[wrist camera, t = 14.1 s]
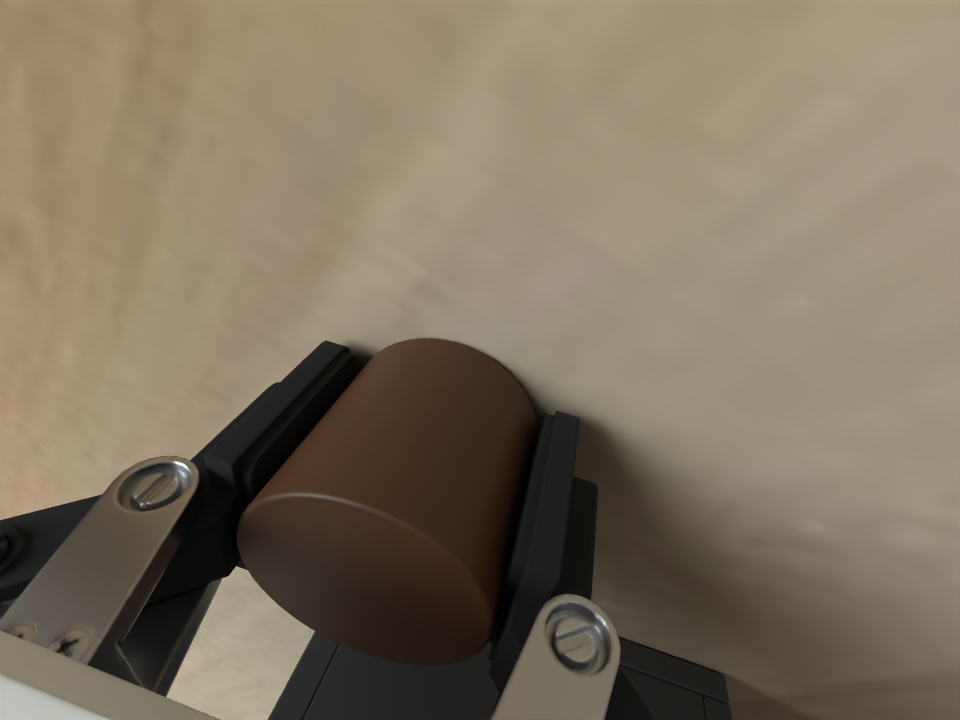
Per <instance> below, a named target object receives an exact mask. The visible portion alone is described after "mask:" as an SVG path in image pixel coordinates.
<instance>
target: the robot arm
mask: <svg viewBox="0 0 960 720" xmlns="http://www.w3.org/2000/svg"><path fill="white" fill-rule="evenodd" d="M355 370H356V358H355V356H354V355H351V354H350V350H349V348H348V347H346V346H342V345H339V344H336V343H332V342H329V341H324V342H322V343H321V344H320V345H319V346H318V347H317V348H316V349H315V350H314V351H313V352H312V353H311V354H310V355H308V356H307V357H306V358H305V359H304V360H303V361H302V362H301V363H300V364H299V365H298V366H297V367H296V368H295V369H294V370H293V371H292V372H291V373H290V374H288V375H287V376H286V377H285V378H284V379H283V380H282V381H281V382H278V383H274V384H273V385H271V386H270V387H268V388H267V389H266V390H265V391H264V392H263V393H262V394H261V395H260V396H259V397H258V398H257V399H256V400H255V401H253V402H252V403H251V404H250V405H249V406H248V407H247V408H246V409H245V410H244V411H243V412H242V413H241V414H240V415H238V416H237V417H236V418H235V419H234V420H233V421H232V422H231V423H230V424H229V425H228V426H227V427H226V428H225V429H223V430H222V431H221V432H220V433H219V434H218V435H217V436H216V437H215V438H214V439H213V440H212V441H211V442H210V443H208V444H207V445H206V446H205V447H204V448H203V449H202V450H201V451H200V452H199V453H198V454H197V455H196V456H195V457H193V458H192V459H191V460H190V461H189V460H187V459H185V458H181V457H177V456H161V457H156V458H151V459H147V460H145V461H142V462H140V463H137V464H135V465H133V466H132V467H130V468H128V469H127V470H125V471H123V472H122V473H121V474H120V475H119V476H118V477H117V478H116V479H115V480H114V481H113V482H112V483H111V485H110V486H109V487H108V488H107V490H106V491H105V492H104V493H103V494H102V495H98V496H94V497H90V498H87V499H83V500H79V501H75V502H71V503H67V504H63V505H59V506H55V507H51V508H47V509H43V510H39V511H35V512H31V513H27V514H23V515H19V516H15V517H12V518H8V519H4V520H0V720H220V719H217V718H215V717H212V716H210V715H208V714H205V713H203V712H200V711H198V710H195V709H193V708H191V707H188V706H186V705H183V704H181V703H179V702H176V701H174V700H171V699H169V698H166V696H167V694H168V692H169V689H170V687H171V685H172V683H173V681H174V679H175V677H176V675H177V673H178V671H179V668H180V666H181V664H182V662H183V660H184V658H185V656H186V654H187V652H188V650H189V647H190V645H191V643H192V641H193V639H194V637H195V635H196V633H197V631H198V629H199V626H200V624H201V622H202V620H203V618H204V616H205V614H206V612H207V610H208V607H209V605H210V603H211V601H212V599H213V597H214V595H215V593H216V591H217V589H218V586H219V584H220V582H221V580H222V578H224V577H227V576H229V575H230V573H231V572H232V571H233V569H234V568H235V567H236V566H238V567H240V568H243V569H246V570H248V569H247V568H246V566H245V564H244V562H243V560H242V558H241V556H240V553H239V549H238V546H237V538H236V535H237V527H238V523H239V521H240V518H241V515H242V514H243V512H244V511H245V510H246V508H247V507H248V506H249V504H250V503H251V502H252V501H253V500H254V498H255V497H256V496H257V495H258V494H259V492H260V491H261V490H262V489H263V488H264V486H265V485H266V484H267V483H268V482H269V480H270V479H271V478H272V477H273V476H274V474H275V473H276V472H277V471H278V470H279V468H280V467H281V466H282V465H283V464H284V463H285V461H286V460H287V459H288V458H289V457H290V455H291V454H292V453H293V452H294V451H295V449H296V448H297V447H298V446H299V445H300V443H301V442H302V441H303V440H304V439H305V437H306V436H307V435H308V434H309V433H310V431H311V430H312V429H313V428H314V427H315V425H316V424H317V423H318V422H319V421H320V419H321V418H322V417H323V416H324V415H325V413H326V412H327V411H328V410H329V409H330V407H331V406H332V405H333V404H334V403H335V401H336V400H337V399H338V398H339V397H340V395H341V394H342V393H343V392H344V391H345V389H346V388H347V387H348V386H349V385H350V383H351V382H352V381H353V380H354V379H355ZM579 420H580V419H579V417H575V416H572V415H569V414H565V413H562V412H559V411H556V412H555V415H554V416H551V415H547V414H545V417H544V420H543V423H542V425H541V428H540V431H539V434H538V437H537V440H536V443H535V447H534V451H533V456H532V460H531V464H530V469H529V473H528V478H527V482H526V486H525V491H524V495H523V499H522V504H521V508H520V512H519V517H518V521H517V525H516V530H515V534H514V539H513V543H512V547H511V552H510V556H509V560H508V565H507V569H506V573H505V578H504V582H503V586H502V591H501V599H500V603H499V608H498V612H497V617H496V621H495V625H494V629H493V633H492V636H491V638H490V640H489V641H488V642H489V643H492V644H491V649H490V653H489V658H488V660H491V661H492V662H491V666H490V671H489V674H490V676H491V678H492V680H493V682H494V684H495V686H496V688H497V690H498V692H499V694H498V696H497V698H496V700H495V702H494V705H493V707H492V709H491V711H490V713H489V716H488V718H487V720H655V718H654V717H653V715H652V714H651V712H650V711H649V710H648V708H647V707H646V705H645V704H644V702H643V701H642V699H641V698H640V696H639V695H638V694H637V692H636V691H635V689H634V688H633V686H632V685H631V683H630V682H629V680H628V679H627V677H626V676H625V675H624V673H623V672H622V670H621V669H620V667H619V661H620V651H621V648H620V643H619V638H618V634H617V632H616V630H615V628H614V625H613V623H612V621H611V620H610V619H609V617H608V616H607V615H606V614H605V612H604V611H603V610H602V609H601V608H600V607H598V606H597V605H596V604H595V603H593V602H592V601H591V595H592V579H593V563H594V546H595V530H596V514H597V497H598V486H597V484H596V483H593V482H590V481H587V480H584V479H581V478H578V477H574V476H573V470H574V462H575V454H576V446H577V437H578V429H579Z"/></svg>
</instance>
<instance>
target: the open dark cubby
mask: <svg viewBox="0 0 960 720" xmlns="http://www.w3.org/2000/svg"><path fill="white" fill-rule="evenodd" d="M619 643H620V648H621V651H620V661H619V667H620V669H621V670H622V672H623V673H624V675H625V676H626V677H627V679H628V680H629V682H630V683H631V685H632V686H633V688H634V689H635V691H636V692H637V694H638V695H639V696H640V698H641V699H642V701H643V702H644V704H645V705H646V707H647V708H648V710H649V711H650V712H651V714H652V715H653V717H654V718H655V720H732V717H731V711H730V706H729V704H728V702H729V700H728V694H727V688H726V682H725V677H724V675H722V674H719V673H716V672H714V671H711V670H708V669H705V668H702V667H699V666H697V665H694V664H691V663H688V662H685V661H682V660H680V659H677V658H674V657H671V656H668V655H665V654H663V653H660V652H657V651H654V650H651V649H648V648H646V647H643V646H640V645H637V644H634V643H632V642H629V641H626V640H623V639H620V638H619ZM491 644H492V643H489V642H488V643H487V644H486V646H485V647H484V648H483V649H482V650H481V651H480V652H479V653H478V654H476V655H475V656H473V657H471V658H469V659H467V660H464V661H462V662H458V663H454V664H450V665H441V666H421V665H410V664H403V663H397V662H393V661H388V660H384V659H380V658H377V657H373V656H370V655H367V654H364V653H361V652H358V651H356V650H353V649H351V648H348V647H346V646H344V645H341V644H339V643H337V642H335V641H333V640H331V639H329V638H327V637H325V636H323V635H322V634H320V633H318V632H316V631H315V632H314V634H313V636H312V638H311V640H310V642H309V644H308V645H307V647H306V649H305V651H304V653H303V655H302V657H301V658H300V660H299V662H298V664H297V666H296V668H295V670H294V672H293V673H292V675H291V677H290V679H289V681H288V683H287V685H286V686H285V688H284V690H283V692H282V694H281V696H280V698H279V700H278V701H277V703H276V705H275V707H274V709H273V711H272V713H271V714H270V716H269V718H268V720H487V718H488V716H489V713H490V711H491V709H492V707H493V705H494V702H495V700H496V698H497V696H498V694H499V692H498V690H497V688H496V686H495V684H494V682H493V680H492V678H491V676H490V674H489V671H490V666H491V662H492V661H491V660H488V658H489V653H490V649H491Z"/></svg>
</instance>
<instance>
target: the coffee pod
mask: <svg viewBox="0 0 960 720" xmlns="http://www.w3.org/2000/svg"><path fill="white" fill-rule="evenodd" d="M536 440H537V423H536V418H535V414H534V410H533V408H532V405H531V403H530V401H529V398H528V397H527V395H526V393H525V392H524V390H523V388H522V387H521V386H520V385H519V383H518V382H517V381H516V380H515V378H514V377H513V376H512V375H511V374H510V373H509V372H508V371H507V370H506V369H505V368H503V367H502V366H501V365H499V364H498V363H497V362H496V361H494V360H493V359H491V358H489V357H488V356H486V355H485V354H483V353H481V352H479V351H477V350H475V349H473V348H470V347H468V346H465V345H462V344H459V343H456V342H451V341H447V340H441V339H433V338H420V339H412V340H406V341H402V342H399V343H395V344H393V345H391V346H389V347H386V348H385V349H383V350H382V351H380V352H378V353H377V354H376V355H375V356H374V357H373V358H372V359H371V360H370V361H369V362H368V363H367V364H366V365H365V367H364V368H363V369H362V370H361V371H360V373H359V374H358V375H357V376H356V377H355V379H354V380H353V381H352V382H351V383H350V385H349V386H348V387H347V388H346V389H345V391H344V392H343V393H342V394H341V395H340V397H339V398H338V399H337V400H336V401H335V403H334V404H333V405H332V406H331V407H330V409H329V410H328V411H327V412H326V413H325V415H324V416H323V417H322V418H321V419H320V421H319V422H318V423H317V424H316V425H315V427H314V428H313V429H312V430H311V431H310V433H309V434H308V435H307V436H306V437H305V439H304V440H303V441H302V442H301V443H300V445H299V446H298V447H297V448H296V449H295V451H294V452H293V453H292V454H291V455H290V457H289V458H288V459H287V460H286V461H285V463H284V464H283V465H282V466H281V467H280V468H279V470H278V471H277V472H276V473H275V474H274V476H273V477H272V478H271V479H270V480H269V482H268V483H267V484H266V485H265V486H264V488H263V489H262V490H261V491H260V492H259V494H258V495H257V496H256V497H255V498H254V500H253V501H252V502H251V503H250V504H249V506H248V507H247V508H246V510H245V511H244V512H243V514H242V515H241V518H240V521H239V523H238V527H237V535H236V538H237V546H238V549H239V553H240V556H241V558H242V560H243V562H244V564H245V566H246V568H247V569H248V571H249V572H250V574H251V576H252V577H253V578H254V580H255V581H256V582H257V583H258V585H259V586H260V587H261V588H262V589H263V590H264V591H265V592H266V593H267V594H268V595H269V596H270V597H271V598H272V599H273V600H274V601H275V602H276V603H277V604H278V605H279V606H281V607H282V608H283V609H284V610H286V611H287V612H288V613H289V614H291V615H292V616H293V617H295V618H296V619H297V620H299V621H300V622H302V623H303V624H305V625H306V626H308V627H310V628H311V629H313V630H314V631H316V632H318V633H320V634H322V635H323V636H325V637H327V638H329V639H331V640H333V641H335V642H337V643H339V644H341V645H344V646H346V647H348V648H351V649H353V650H356V651H358V652H361V653H364V654H367V655H370V656H373V657H377V658H380V659H384V660H388V661H393V662H397V663H403V664H410V665H421V666H441V665H450V664H454V663H458V662H462V661H464V660H467V659H469V658H471V657H473V656H475V655H476V654H478V653H479V652H480V651H481V650H482V649H483V648H484V647H485V646H486V644H487V643H488V641H489V640H490V638H491V636H492V633H493V629H494V625H495V621H496V617H497V612H498V608H499V603H500V599H501V591H502V586H503V582H504V578H505V573H506V569H507V565H508V560H509V556H510V552H511V547H512V543H513V539H514V534H515V530H516V525H517V521H518V517H519V512H520V508H521V504H522V499H523V495H524V491H525V486H526V482H527V478H528V473H529V469H530V464H531V460H532V456H533V451H534V447H535V443H536Z"/></svg>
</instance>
